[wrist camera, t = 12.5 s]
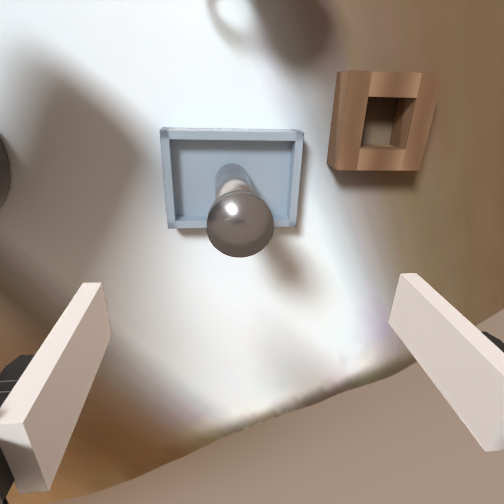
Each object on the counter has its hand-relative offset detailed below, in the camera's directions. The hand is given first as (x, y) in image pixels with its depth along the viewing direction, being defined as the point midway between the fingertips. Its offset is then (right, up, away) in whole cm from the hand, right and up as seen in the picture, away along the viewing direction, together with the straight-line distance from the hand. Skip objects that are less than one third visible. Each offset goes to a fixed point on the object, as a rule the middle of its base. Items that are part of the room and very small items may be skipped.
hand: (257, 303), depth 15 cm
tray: (-2, +11, +22) cm, 25 cm away
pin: (-2, +10, +22) cm, 24 cm away
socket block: (+13, +16, +21) cm, 30 cm away
